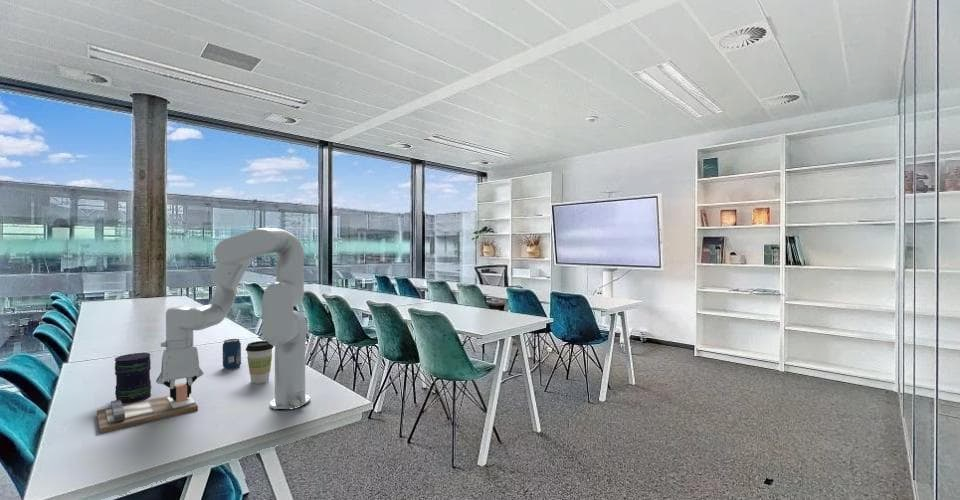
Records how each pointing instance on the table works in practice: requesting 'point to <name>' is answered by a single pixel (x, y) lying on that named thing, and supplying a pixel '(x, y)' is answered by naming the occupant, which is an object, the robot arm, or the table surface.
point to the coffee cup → (259, 360)
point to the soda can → (231, 354)
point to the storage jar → (133, 377)
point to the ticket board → (138, 413)
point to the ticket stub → (181, 396)
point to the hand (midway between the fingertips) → (180, 397)
